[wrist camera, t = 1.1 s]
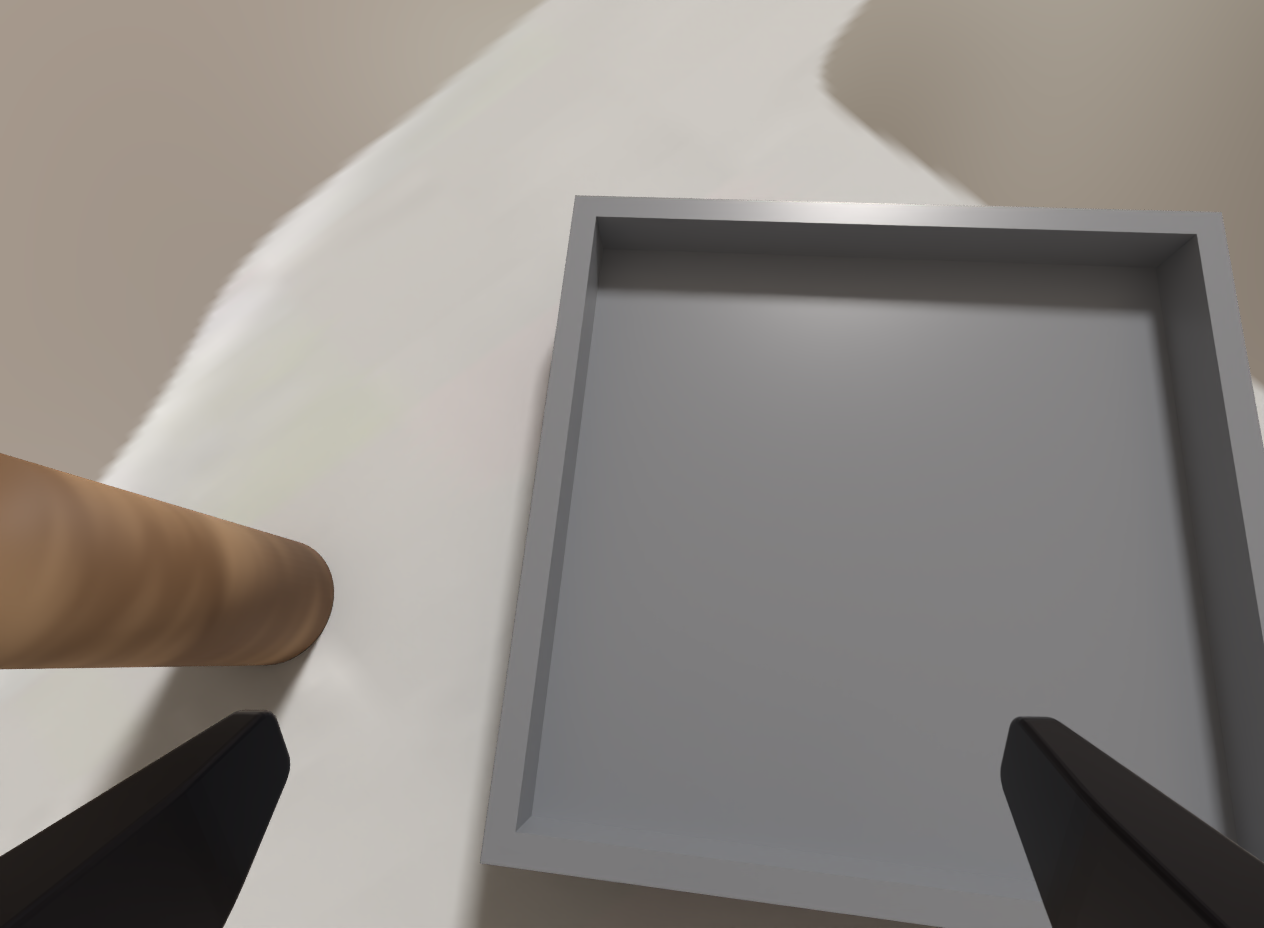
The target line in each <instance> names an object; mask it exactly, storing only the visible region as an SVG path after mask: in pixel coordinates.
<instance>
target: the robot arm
mask: <svg viewBox="0 0 1264 928" xmlns="http://www.w3.org/2000/svg"><path fill="white" fill-rule="evenodd" d="M289 771H290V757H289V754H288V751H287V748H286V745H285V742H284V739H283V736H282V733H281V730H280V727H279V724H278V721H277V718H276V716H275V715H274V714H273V713H272V712H270V711H267V710H242V711H237V712H235V713H233V714H231V715H229V716H228V717H226V718H224V719H223V720H221V721H220V722H218V723H216V724H215V725H213V726H211V727H210V728H208V729H207V730H205V731H203V732H202V733H200V734H198V735H197V736H195V737H194V738H192V739H190V740H189V741H187V742H185V743H184V744H182V745H181V746H179V747H177V748H176V749H174V750H172V751H171V752H169V753H168V754H166V755H164V756H163V757H161V758H159V759H158V760H156V761H155V762H153V763H151V764H150V765H148V766H147V767H145V768H143V769H142V770H140V771H138V772H137V773H135V774H134V775H132V776H130V777H129V778H127V779H125V780H124V781H122V782H121V783H119V784H117V785H116V786H114V787H112V788H111V789H109V790H108V791H106V792H104V793H103V794H101V795H99V796H98V797H96V798H95V799H93V800H91V801H90V802H88V803H86V804H85V805H83V806H82V807H80V808H78V809H77V810H75V811H73V812H72V813H70V814H69V815H67V816H65V817H64V818H62V819H60V820H59V821H57V822H56V823H54V824H52V825H51V826H49V827H48V828H46V829H44V830H43V831H41V832H39V833H38V834H36V835H35V836H33V837H31V838H30V839H28V840H26V841H25V842H23V843H22V844H20V845H18V846H17V847H15V848H13V849H12V850H10V851H9V852H7V853H5V854H4V855H2V856H0V928H223V927H224V925H225V923H226V921H227V919H228V917H229V915H230V912H231V910H232V908H233V906H234V904H235V902H236V900H237V898H238V896H239V893H240V891H241V889H242V887H243V884H244V882H245V880H246V877H247V875H248V872H249V870H250V868H251V865H252V863H253V860H254V858H255V856H256V853H257V851H258V848H259V846H260V844H261V841H262V839H263V836H264V834H265V832H266V829H267V827H268V824H269V822H270V820H271V817H272V815H273V812H274V810H275V808H276V805H277V803H278V800H279V798H280V796H281V793H282V791H283V788H284V786H285V784H286V781H287V778H288V775H289ZM1000 778H1001V784H1002V789H1003V792H1004V795H1005V798H1006V800H1007V803H1008V806H1009V809H1010V812H1011V814H1012V817H1013V820H1014V823H1015V826H1016V829H1017V831H1018V834H1019V837H1020V840H1021V843H1022V846H1023V848H1024V851H1025V854H1026V857H1027V860H1028V862H1029V865H1030V868H1031V871H1032V874H1033V877H1034V879H1035V882H1036V885H1037V888H1038V891H1039V893H1040V896H1041V899H1042V902H1043V905H1044V908H1045V910H1046V913H1047V915H1048V918H1049V921H1050V923H1051V926H1052V928H1264V862H1262V861H1261V860H1259V859H1258V858H1256V857H1255V856H1253V855H1252V854H1251V853H1249V852H1248V851H1246V850H1245V849H1243V848H1242V847H1240V846H1239V845H1238V844H1236V843H1235V842H1233V841H1232V840H1230V839H1229V838H1227V837H1226V836H1225V835H1223V834H1222V833H1220V832H1219V831H1217V830H1216V829H1214V828H1213V827H1212V826H1210V825H1209V824H1207V823H1206V822H1204V821H1203V820H1201V819H1200V818H1199V817H1197V816H1196V815H1194V814H1193V813H1191V812H1190V811H1188V810H1187V809H1186V808H1184V807H1183V806H1181V805H1180V804H1178V803H1177V802H1175V801H1174V800H1173V799H1171V798H1170V797H1168V796H1167V795H1165V794H1164V793H1162V792H1161V791H1159V790H1158V789H1157V788H1155V787H1154V786H1152V785H1151V784H1149V783H1148V782H1146V781H1145V780H1144V779H1142V778H1141V777H1139V776H1138V775H1136V774H1135V773H1133V772H1132V771H1131V770H1129V769H1128V768H1126V767H1125V766H1123V765H1122V764H1120V763H1119V762H1118V761H1116V760H1115V759H1113V758H1112V757H1110V756H1109V755H1107V754H1106V753H1105V752H1103V751H1102V750H1100V749H1099V748H1097V747H1096V746H1094V745H1093V744H1092V743H1090V742H1089V741H1087V740H1086V739H1084V738H1083V737H1081V736H1080V735H1079V734H1077V733H1076V732H1074V731H1073V730H1071V729H1070V728H1068V727H1067V726H1066V725H1064V724H1063V723H1061V722H1060V721H1058V720H1056V719H1054V718H1051V717H1040V716H1019V717H1016V718H1014V719H1013V720H1012V722H1011V724H1010V726H1009V730H1008V735H1007V740H1006V744H1005V749H1004V753H1003V758H1002V762H1001V768H1000Z"/></svg>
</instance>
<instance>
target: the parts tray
mask: <svg viewBox="0 0 1264 928" xmlns="http://www.w3.org/2000/svg"><path fill="white" fill-rule="evenodd" d="M1019 716H1040V717H1051V718H1054V719H1056V720H1058V721H1060V722H1061V723H1063V724H1064V725H1066V726H1067V727H1068V728H1070V729H1071V730H1073V731H1074V732H1076V733H1077V734H1079V735H1080V736H1081V737H1083V738H1084V739H1086V740H1087V741H1089V742H1090V743H1092V744H1093V745H1094V746H1096V747H1097V748H1099V749H1100V750H1102V751H1103V752H1105V753H1106V754H1107V755H1109V756H1110V757H1112V758H1113V759H1115V760H1116V761H1118V762H1119V763H1120V764H1122V765H1123V766H1125V767H1126V768H1128V769H1129V770H1131V771H1132V772H1133V773H1135V774H1136V775H1138V776H1139V777H1141V778H1142V779H1144V780H1145V781H1146V782H1148V783H1149V784H1151V785H1152V786H1154V787H1155V788H1157V789H1158V790H1159V791H1161V792H1162V793H1164V794H1165V795H1167V796H1168V797H1170V798H1171V799H1173V800H1174V801H1175V802H1177V803H1178V804H1180V805H1181V806H1183V807H1184V808H1186V809H1187V810H1188V811H1190V812H1191V813H1193V814H1194V815H1196V816H1197V817H1199V818H1200V819H1201V820H1203V821H1204V822H1206V823H1207V824H1209V825H1210V826H1212V827H1213V828H1214V829H1216V830H1217V831H1219V832H1220V833H1222V834H1223V835H1225V836H1226V837H1227V838H1229V839H1230V840H1232V841H1233V842H1235V843H1236V844H1238V845H1239V846H1240V847H1242V848H1243V849H1245V850H1246V851H1248V852H1249V853H1251V854H1252V855H1253V856H1255V857H1256V858H1258V859H1259V860H1261V861H1262V862H1264V448H1263V442H1262V436H1261V431H1260V425H1259V420H1258V414H1257V408H1256V403H1255V397H1254V391H1253V386H1252V380H1251V375H1250V369H1249V363H1248V358H1247V352H1246V347H1245V342H1244V335H1243V330H1242V324H1241V318H1240V313H1239V307H1238V301H1237V296H1236V290H1235V285H1234V279H1233V274H1232V268H1231V262H1230V257H1229V251H1228V245H1227V240H1226V234H1225V228H1224V223H1223V217H1222V213H1221V212H1193V211H1155V210H1154V211H1153V210H1116V209H1078V208H1039V207H1001V206H962V205H924V204H885V203H847V202H808V201H770V200H731V199H693V198H654V197H616V196H577V195H575V201H574V208H573V215H572V222H571V229H570V236H569V243H568V250H567V257H566V264H565V271H564V278H563V285H562V292H561V299H560V306H559V313H558V320H557V327H556V334H555V341H554V348H553V355H552V362H551V369H550V376H549V383H548V390H547V397H546V404H545V411H544V418H543V425H542V432H541V439H540V446H539V453H538V460H537V467H536V474H535V481H534V488H533V495H532V502H531V509H530V516H529V523H528V530H527V537H526V544H525V551H524V558H523V565H522V572H521V579H520V586H519V593H518V600H517V607H516V614H515V621H514V628H513V635H512V642H511V649H510V656H509V663H508V670H507V677H506V684H505V691H504V698H503V705H502V712H501V719H500V726H499V733H498V740H497V747H496V754H495V761H494V768H493V775H492V782H491V789H490V796H489V803H488V810H487V817H486V824H485V831H484V838H483V845H482V852H481V859H480V863H482V864H489V865H496V866H503V867H511V868H518V869H525V870H532V871H539V872H547V873H554V874H561V875H568V876H575V877H583V878H590V879H597V880H604V881H611V882H619V883H626V884H633V885H640V886H647V887H655V888H662V889H669V890H676V891H683V892H691V893H698V894H705V895H712V896H719V897H727V898H734V899H741V900H748V901H755V902H763V903H770V904H777V905H784V906H791V907H799V908H806V909H813V910H820V911H827V912H835V913H842V914H849V915H856V916H863V917H871V918H878V919H885V920H892V921H899V922H907V923H914V924H921V925H928V926H935V927H943V928H1052V926H1051V923H1050V921H1049V918H1048V915H1047V913H1046V910H1045V908H1044V905H1043V902H1042V899H1041V896H1040V893H1039V891H1038V888H1037V885H1036V882H1035V879H1034V877H1033V874H1032V871H1031V868H1030V865H1029V862H1028V860H1027V857H1026V854H1025V851H1024V848H1023V846H1022V843H1021V840H1020V837H1019V834H1018V831H1017V829H1016V826H1015V823H1014V820H1013V817H1012V814H1011V812H1010V809H1009V806H1008V803H1007V800H1006V798H1005V795H1004V792H1003V789H1002V784H1001V778H1000V768H1001V762H1002V758H1003V753H1004V749H1005V744H1006V740H1007V735H1008V730H1009V726H1010V724H1011V722H1012V720H1013V719H1014V718H1016V717H1019Z"/></svg>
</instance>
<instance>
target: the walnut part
mask: <svg viewBox="0 0 1264 928" xmlns="http://www.w3.org/2000/svg"><path fill="white" fill-rule="evenodd" d="M333 599H334V586H333V580H332V575H331V573H330V570H329V567H328V566H327V564H326V562H325V561H324V559H323V558H322V557H321V556H320V555H319V554H318V553H317V552H316V551H315V550H314V549H312V548H311V547H309V546H307V545H305V544H303V543H300V542H296V541H293V540H290V539H286V538H283V537H280V536H276V535H273V534H270V533H266V532H263V531H260V530H256V529H253V528H250V527H246V526H243V525H239V524H236V523H233V522H229V521H226V520H223V519H219V518H216V517H213V516H209V515H206V514H203V513H199V512H196V511H193V510H189V509H186V508H182V507H179V506H176V505H172V504H169V503H166V502H162V501H159V500H156V499H152V498H149V497H146V496H142V495H139V494H136V493H132V492H129V491H125V490H122V489H119V488H115V487H112V486H109V485H105V484H102V483H99V482H95V481H92V480H89V479H85V478H82V477H78V476H75V475H72V474H69V473H65V472H62V471H58V470H55V469H52V468H48V467H45V466H42V465H38V464H35V463H32V462H28V461H25V460H22V459H18V458H15V457H12V456H8V455H4V454H1V453H0V669H45V668H112V667H180V666H247V665H273V664H278V663H282V662H285V661H287V660H290V659H292V658H294V657H296V656H298V655H299V654H300V653H302V652H303V651H305V650H306V649H307V648H308V647H309V646H310V645H311V644H312V643H313V642H314V641H315V640H316V639H317V638H318V636H319V635H320V633H321V632H322V631H323V629H324V627H325V625H326V623H327V621H328V619H329V616H330V613H331V610H332V606H333Z"/></svg>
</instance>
